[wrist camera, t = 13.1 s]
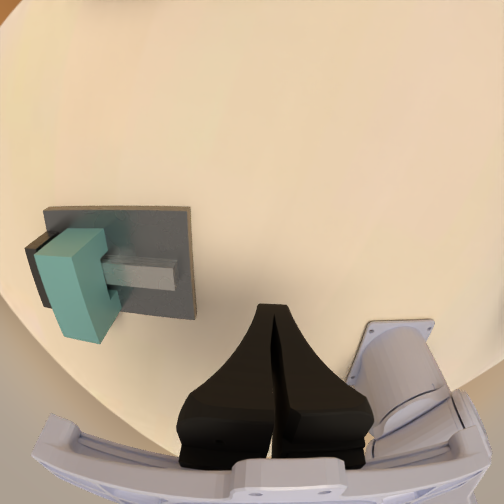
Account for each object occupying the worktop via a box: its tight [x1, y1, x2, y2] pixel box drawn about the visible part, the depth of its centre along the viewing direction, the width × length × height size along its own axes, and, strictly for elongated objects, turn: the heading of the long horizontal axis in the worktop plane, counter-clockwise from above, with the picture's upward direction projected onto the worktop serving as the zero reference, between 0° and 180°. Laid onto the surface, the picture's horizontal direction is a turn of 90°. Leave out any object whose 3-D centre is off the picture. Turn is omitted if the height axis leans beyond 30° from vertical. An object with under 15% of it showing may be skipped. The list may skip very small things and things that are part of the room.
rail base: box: [25, 206, 197, 320], centre depth 22 cm, size 14×10×4 cm
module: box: [34, 228, 122, 344], centre depth 21 cm, size 4×8×5 cm, turn 179°
